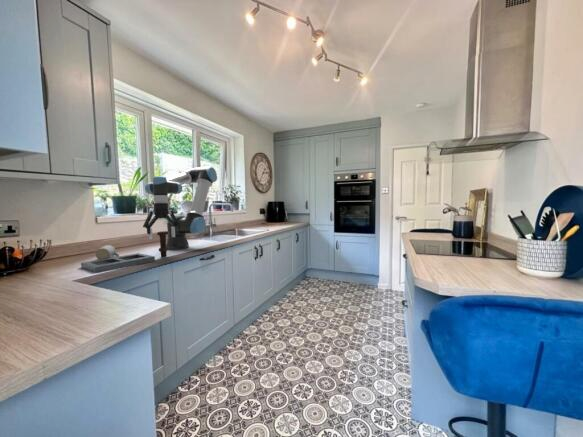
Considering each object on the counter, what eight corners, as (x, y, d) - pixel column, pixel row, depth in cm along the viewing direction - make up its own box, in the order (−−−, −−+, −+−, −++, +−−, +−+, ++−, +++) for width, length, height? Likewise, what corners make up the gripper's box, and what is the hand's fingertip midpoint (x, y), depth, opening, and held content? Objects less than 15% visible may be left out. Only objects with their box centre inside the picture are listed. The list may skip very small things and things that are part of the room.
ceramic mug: (94, 260, 138) (94, 247, 138) (101, 257, 146) (101, 245, 146) (116, 259, 141) (115, 246, 141) (121, 256, 149) (121, 244, 148)
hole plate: (138, 257, 145) (138, 253, 145) (154, 260, 135) (154, 256, 135) (81, 267, 123) (80, 262, 123) (95, 272, 113) (95, 267, 112)
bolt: (163, 257, 142) (162, 232, 141) (156, 257, 143) (155, 232, 142) (170, 255, 148) (169, 231, 147) (163, 255, 149) (162, 231, 148)
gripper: (177, 203, 156) (178, 235, 157) (135, 202, 135) (136, 240, 136) (184, 202, 152) (185, 236, 153) (141, 202, 131) (143, 241, 132)
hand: (162, 238), depth 145 cm, fingers open, 13 cm apart
